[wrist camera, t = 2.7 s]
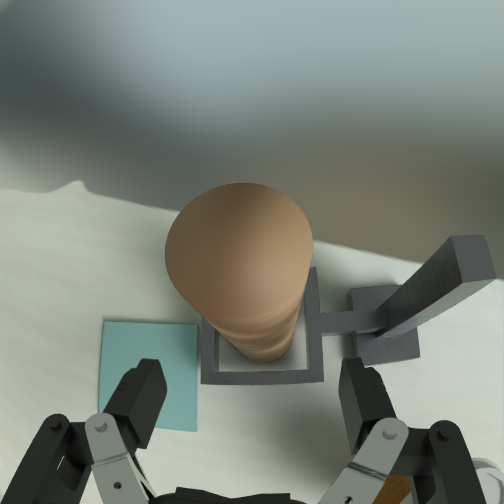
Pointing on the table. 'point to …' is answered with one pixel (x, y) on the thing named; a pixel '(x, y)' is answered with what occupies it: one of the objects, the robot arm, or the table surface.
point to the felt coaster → (171, 359)
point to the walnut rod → (243, 264)
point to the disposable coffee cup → (491, 478)
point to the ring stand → (372, 315)
